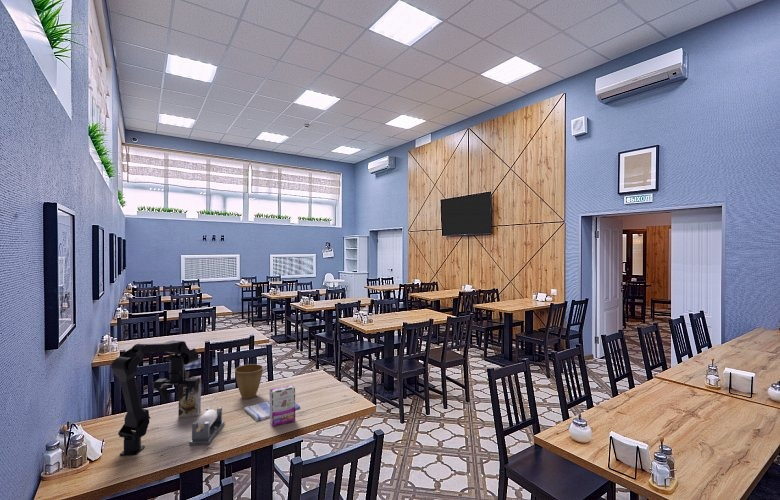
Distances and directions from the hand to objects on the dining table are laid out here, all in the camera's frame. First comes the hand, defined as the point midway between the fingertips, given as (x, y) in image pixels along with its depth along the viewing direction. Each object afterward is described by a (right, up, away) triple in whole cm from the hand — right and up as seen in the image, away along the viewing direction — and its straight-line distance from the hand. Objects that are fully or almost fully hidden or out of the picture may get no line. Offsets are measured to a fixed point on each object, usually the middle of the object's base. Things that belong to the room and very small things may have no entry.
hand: (176, 401), depth 172 cm
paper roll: (+17, -6, -6) cm, 19 cm away
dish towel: (+38, -13, +20) cm, 45 cm away
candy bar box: (+48, -12, +5) cm, 50 cm away
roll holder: (+18, -12, -6) cm, 22 cm away
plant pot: (+20, -13, +37) cm, 44 cm away
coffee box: (-1, -12, +14) cm, 19 cm away
